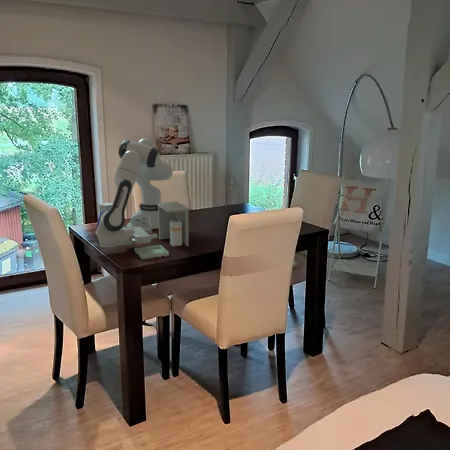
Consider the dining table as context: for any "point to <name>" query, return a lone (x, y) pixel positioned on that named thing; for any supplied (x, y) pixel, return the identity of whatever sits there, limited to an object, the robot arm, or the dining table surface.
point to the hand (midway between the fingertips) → (154, 233)
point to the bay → (168, 213)
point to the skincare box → (105, 207)
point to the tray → (151, 252)
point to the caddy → (175, 232)
